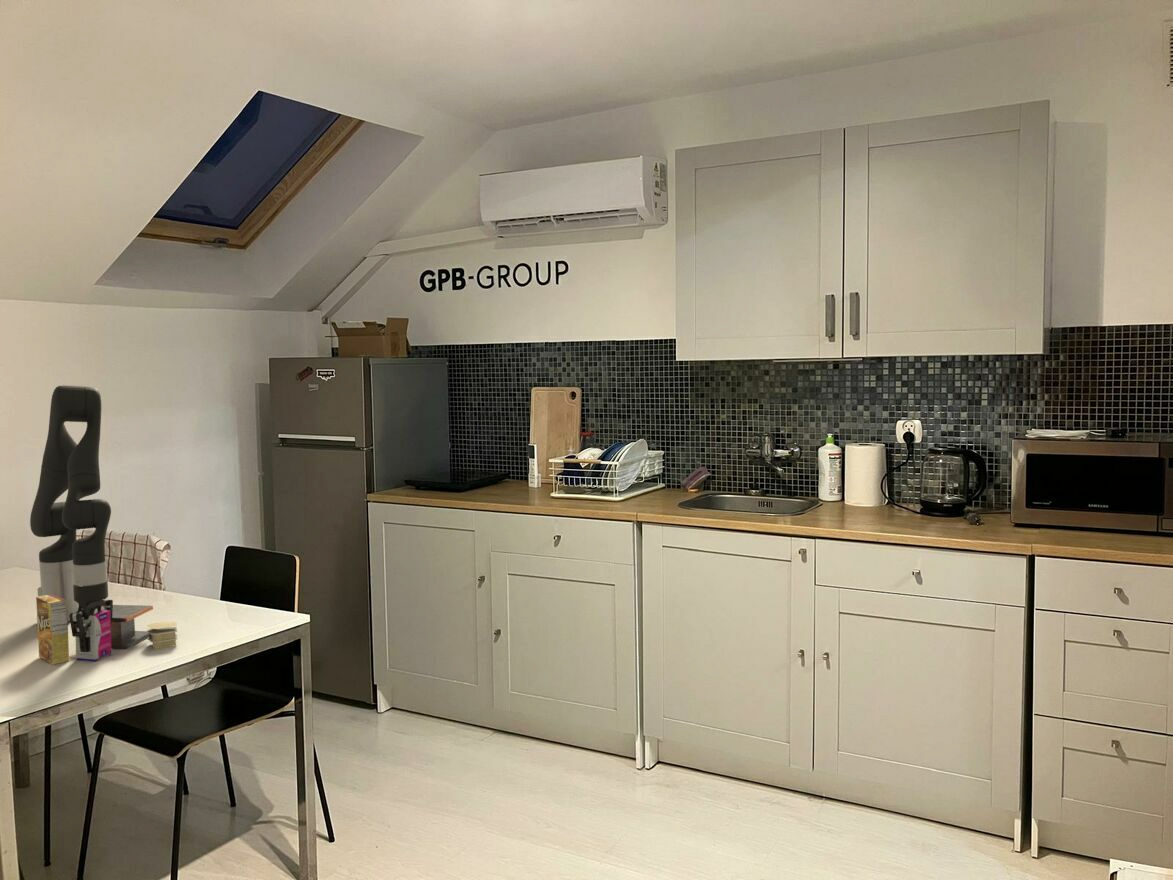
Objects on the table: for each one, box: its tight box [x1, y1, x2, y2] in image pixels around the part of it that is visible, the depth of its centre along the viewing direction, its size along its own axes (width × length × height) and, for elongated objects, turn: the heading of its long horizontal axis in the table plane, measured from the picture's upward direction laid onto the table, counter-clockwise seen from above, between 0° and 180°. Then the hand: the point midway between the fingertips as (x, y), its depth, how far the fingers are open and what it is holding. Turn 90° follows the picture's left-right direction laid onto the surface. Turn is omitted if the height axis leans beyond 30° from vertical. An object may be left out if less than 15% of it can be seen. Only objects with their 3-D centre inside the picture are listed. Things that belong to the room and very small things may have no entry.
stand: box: [111, 604, 154, 650], centre depth 246 cm, size 12×12×8 cm
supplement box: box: [75, 610, 112, 663], centre depth 233 cm, size 6×6×12 cm
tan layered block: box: [146, 621, 178, 649], centre depth 243 cm, size 10×9×6 cm
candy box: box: [35, 594, 70, 666], centre depth 231 cm, size 9×4×15 cm, turn 50°
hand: (93, 647), depth 233 cm, fingers closed on supplement box, 6 cm apart
